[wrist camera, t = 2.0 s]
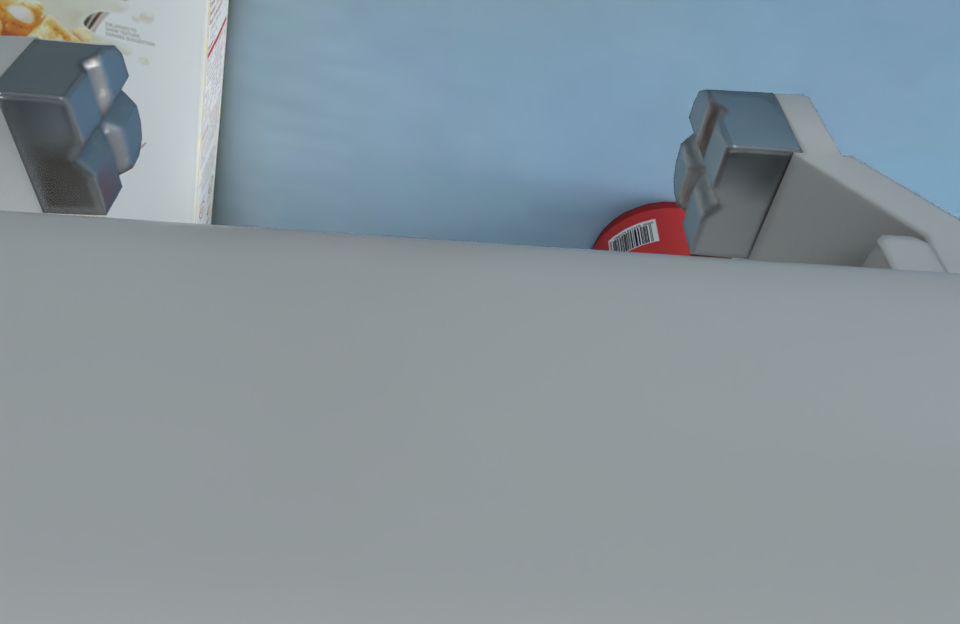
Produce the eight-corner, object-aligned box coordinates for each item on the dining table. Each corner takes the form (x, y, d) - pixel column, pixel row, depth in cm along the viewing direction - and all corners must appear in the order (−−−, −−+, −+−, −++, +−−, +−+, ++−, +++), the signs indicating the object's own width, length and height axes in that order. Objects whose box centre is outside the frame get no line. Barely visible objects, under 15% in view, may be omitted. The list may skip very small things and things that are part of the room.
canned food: (568, 286, 47) (578, 439, 39) (618, 182, 41) (641, 337, 34) (686, 311, 48) (718, 463, 41) (750, 213, 43) (801, 369, 35)
